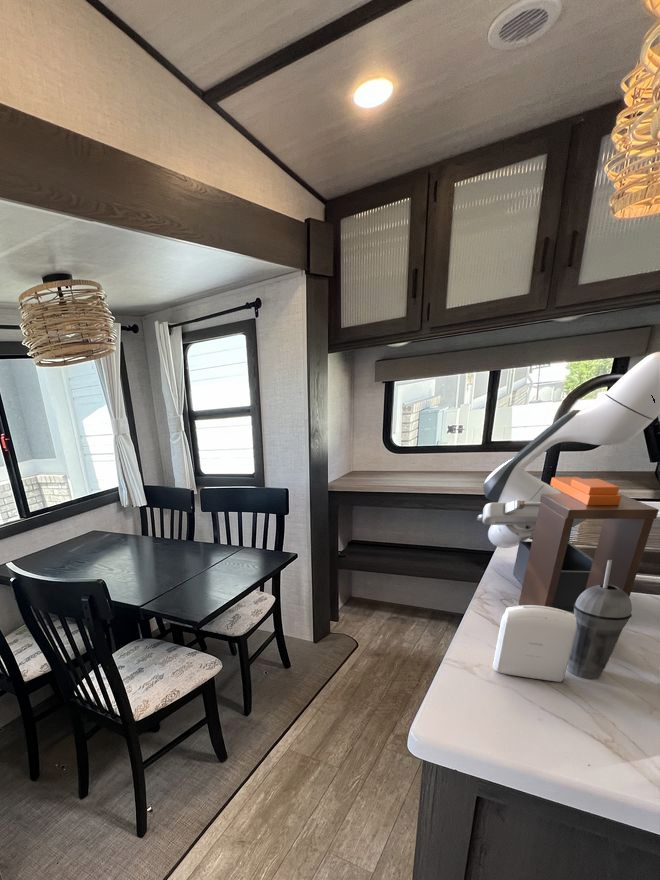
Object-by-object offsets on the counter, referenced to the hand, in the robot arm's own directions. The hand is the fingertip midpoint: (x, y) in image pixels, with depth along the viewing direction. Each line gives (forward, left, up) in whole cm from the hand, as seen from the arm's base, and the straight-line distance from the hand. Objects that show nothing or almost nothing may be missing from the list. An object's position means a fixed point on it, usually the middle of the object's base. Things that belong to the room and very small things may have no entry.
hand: (546, 502), depth 99 cm
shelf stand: (0, +20, -21) cm, 29 cm away
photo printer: (+10, +36, -21) cm, 43 cm away
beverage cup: (+1, +34, -21) cm, 40 cm away
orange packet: (0, +15, +5) cm, 16 cm away
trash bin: (-6, -2, -21) cm, 22 cm away
